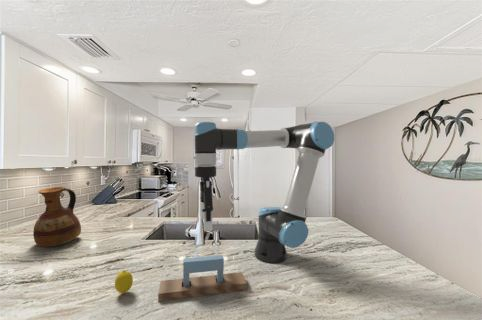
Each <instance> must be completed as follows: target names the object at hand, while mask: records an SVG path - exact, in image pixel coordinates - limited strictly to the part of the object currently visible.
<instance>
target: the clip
mask: <svg viewBox="0 0 482 320" xmlns="http://www.w3.org/2000/svg"><path fill="white" fill-rule="evenodd" d="M182 260H183V263H182V265H183V270H182V271H183V278H182V279H183V287H187V286H189V278H190V274H194V273H206V272H214V271H215V272H216V275H217V283H221V282H223V274H224V268H225V267H224V266H225V264H224V263H225V261H224V260H225V259H224V255H221V254H220V255H211V256H200V257H198V256H196V257H188V258H183V259H182Z"/></svg>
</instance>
